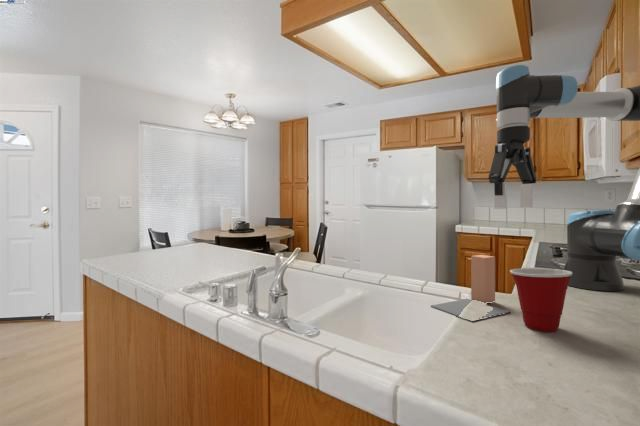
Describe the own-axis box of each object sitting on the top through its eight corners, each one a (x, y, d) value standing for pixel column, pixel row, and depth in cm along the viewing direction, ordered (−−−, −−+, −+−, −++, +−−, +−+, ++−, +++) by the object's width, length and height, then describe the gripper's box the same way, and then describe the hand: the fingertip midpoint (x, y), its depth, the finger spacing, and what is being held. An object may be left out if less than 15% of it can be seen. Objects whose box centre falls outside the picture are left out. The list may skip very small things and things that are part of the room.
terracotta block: (481, 298, 88) (481, 254, 88) (495, 302, 85) (495, 256, 85) (471, 300, 87) (471, 255, 86) (484, 304, 83) (484, 257, 83)
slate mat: (466, 300, 87) (466, 298, 87) (510, 313, 77) (510, 311, 77) (430, 307, 82) (430, 305, 82) (471, 322, 71) (472, 320, 71)
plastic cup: (530, 315, 75) (530, 263, 75) (584, 331, 65) (584, 271, 65) (497, 322, 71) (497, 267, 70) (550, 341, 61) (550, 276, 60)
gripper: (520, 135, 96) (521, 207, 97) (472, 125, 83) (474, 209, 83) (549, 129, 90) (550, 206, 91) (502, 118, 76) (504, 209, 77)
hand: (514, 208), depth 87 cm, fingers open, 13 cm apart
